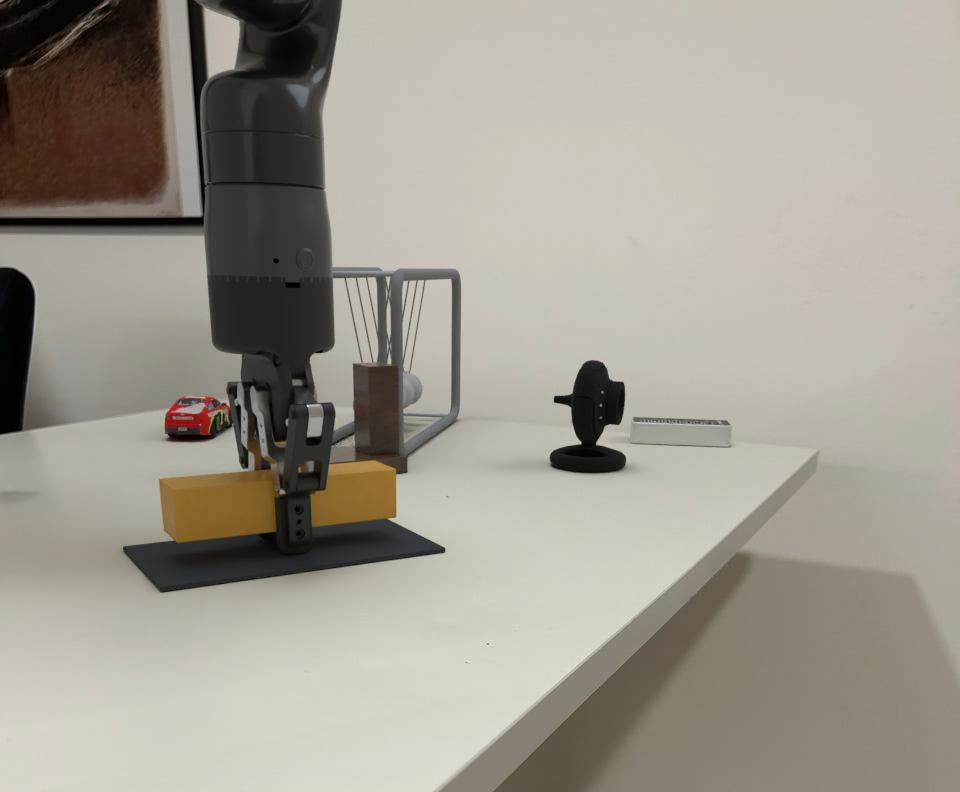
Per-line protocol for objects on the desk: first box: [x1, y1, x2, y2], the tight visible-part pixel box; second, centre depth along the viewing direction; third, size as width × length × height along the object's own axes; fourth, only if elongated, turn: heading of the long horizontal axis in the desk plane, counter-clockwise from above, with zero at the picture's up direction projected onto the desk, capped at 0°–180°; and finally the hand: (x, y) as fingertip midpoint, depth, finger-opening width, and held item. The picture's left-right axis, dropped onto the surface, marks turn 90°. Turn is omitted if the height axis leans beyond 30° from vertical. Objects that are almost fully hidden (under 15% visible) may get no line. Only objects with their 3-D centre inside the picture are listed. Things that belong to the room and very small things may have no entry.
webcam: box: [549, 359, 627, 473], centre depth 95 cm, size 8×8×10 cm
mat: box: [122, 518, 446, 593], centre depth 66 cm, size 19×10×1 cm, turn 121°
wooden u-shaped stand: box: [255, 361, 408, 474], centre depth 90 cm, size 13×7×10 cm, turn 121°
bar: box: [158, 461, 397, 543], centre depth 65 cm, size 15×3×3 cm, turn 121°
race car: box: [164, 395, 233, 439], centre depth 110 cm, size 13×5×4 cm, turn 178°
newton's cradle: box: [331, 266, 462, 456], centre depth 108 cm, size 30×10×18 cm, turn 170°
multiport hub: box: [629, 416, 733, 448], centre depth 110 cm, size 4×11×2 cm, turn 83°
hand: (284, 543), depth 66 cm, fingers closed on bar, 3 cm apart
